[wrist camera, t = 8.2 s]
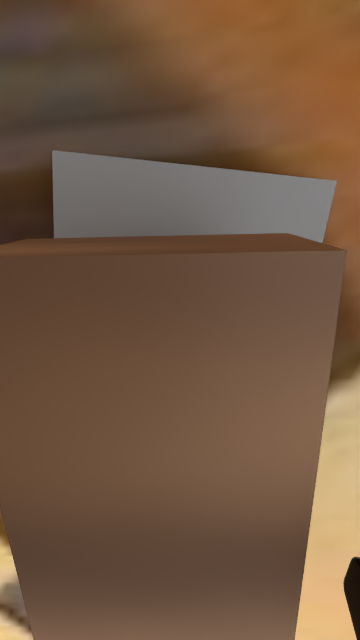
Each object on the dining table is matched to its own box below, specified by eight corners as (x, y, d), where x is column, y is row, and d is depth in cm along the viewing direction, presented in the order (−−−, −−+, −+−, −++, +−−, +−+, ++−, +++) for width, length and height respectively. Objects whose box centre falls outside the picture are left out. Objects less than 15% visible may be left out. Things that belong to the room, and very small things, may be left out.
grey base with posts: (321, 183, 13) (435, 166, 7) (246, 524, 19) (275, 675, 13) (66, 155, 13) (-37, 115, 7) (69, 509, 19) (13, 654, 13)
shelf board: (256, 632, 12) (278, 760, 9) (91, 632, 12) (63, 758, 10) (287, 232, 8) (346, 250, 5) (26, 238, 8) (-62, 258, 5)
